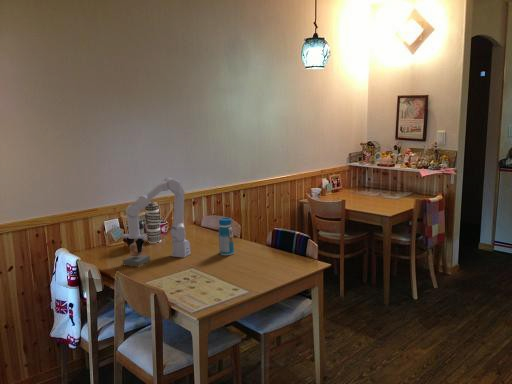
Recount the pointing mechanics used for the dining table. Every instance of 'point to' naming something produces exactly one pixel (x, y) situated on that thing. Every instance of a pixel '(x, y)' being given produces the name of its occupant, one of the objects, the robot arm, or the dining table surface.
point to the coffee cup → (140, 231)
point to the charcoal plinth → (136, 260)
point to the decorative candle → (153, 223)
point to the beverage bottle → (226, 237)
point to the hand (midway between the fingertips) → (135, 251)
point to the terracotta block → (134, 250)
